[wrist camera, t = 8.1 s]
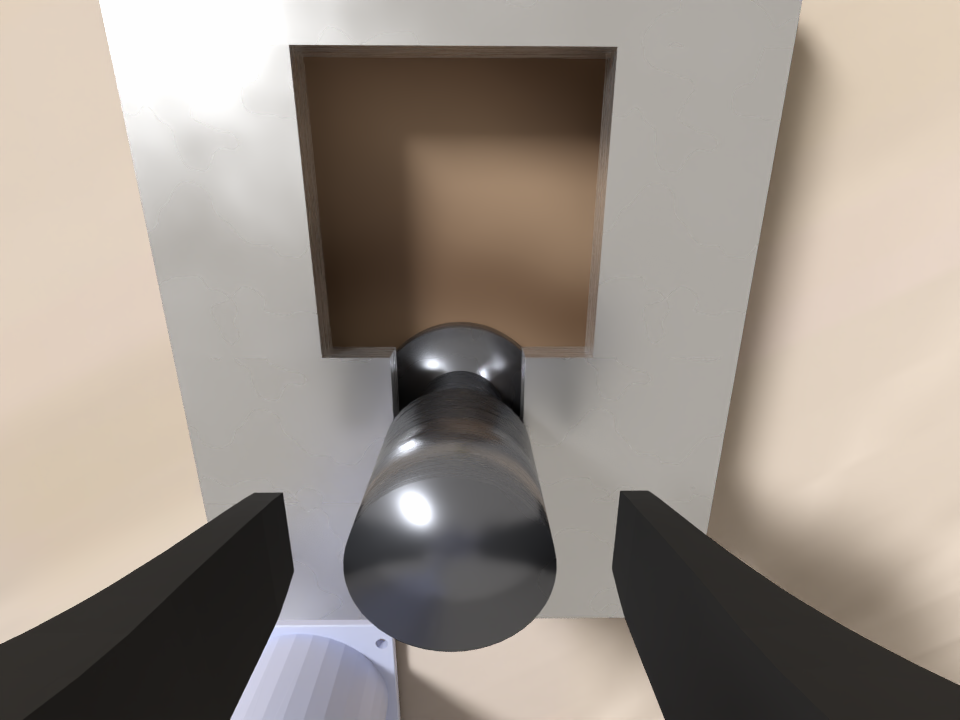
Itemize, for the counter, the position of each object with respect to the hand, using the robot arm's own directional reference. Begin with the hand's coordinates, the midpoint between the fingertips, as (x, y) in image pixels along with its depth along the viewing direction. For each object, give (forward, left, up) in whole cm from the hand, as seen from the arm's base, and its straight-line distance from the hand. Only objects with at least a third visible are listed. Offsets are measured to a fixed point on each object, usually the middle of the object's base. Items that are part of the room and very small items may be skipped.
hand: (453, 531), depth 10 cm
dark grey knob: (0, 0, -7) cm, 7 cm away
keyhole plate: (+4, 0, -7) cm, 8 cm away
